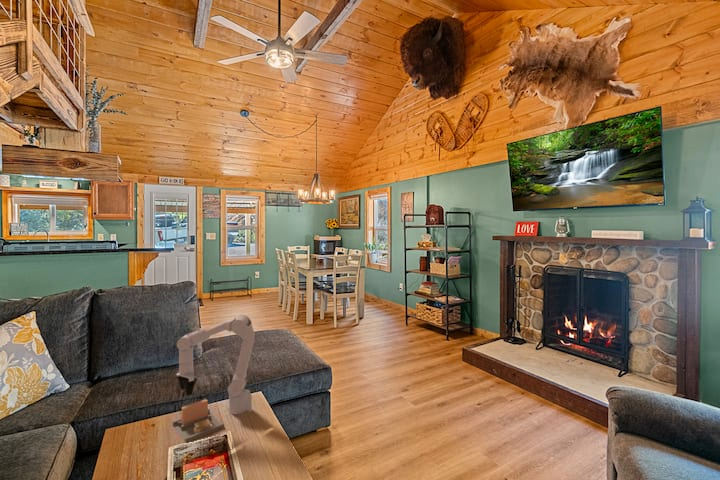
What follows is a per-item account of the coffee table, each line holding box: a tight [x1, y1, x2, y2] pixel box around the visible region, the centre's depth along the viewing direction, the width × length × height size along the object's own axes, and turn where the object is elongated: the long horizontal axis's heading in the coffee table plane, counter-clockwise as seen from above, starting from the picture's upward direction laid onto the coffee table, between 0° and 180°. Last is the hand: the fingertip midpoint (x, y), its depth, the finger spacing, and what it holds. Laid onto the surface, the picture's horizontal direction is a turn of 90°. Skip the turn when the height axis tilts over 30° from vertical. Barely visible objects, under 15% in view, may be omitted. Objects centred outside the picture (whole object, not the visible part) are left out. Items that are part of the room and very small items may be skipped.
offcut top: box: [195, 419, 210, 431], centre depth 139 cm, size 5×4×2 cm
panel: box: [181, 398, 209, 425], centre depth 145 cm, size 10×2×8 cm, turn 134°
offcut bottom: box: [194, 423, 213, 433], centre depth 139 cm, size 6×4×2 cm, turn 142°
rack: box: [172, 408, 225, 444], centre depth 142 cm, size 15×17×2 cm
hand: (186, 391), depth 153 cm, fingers open, 7 cm apart
